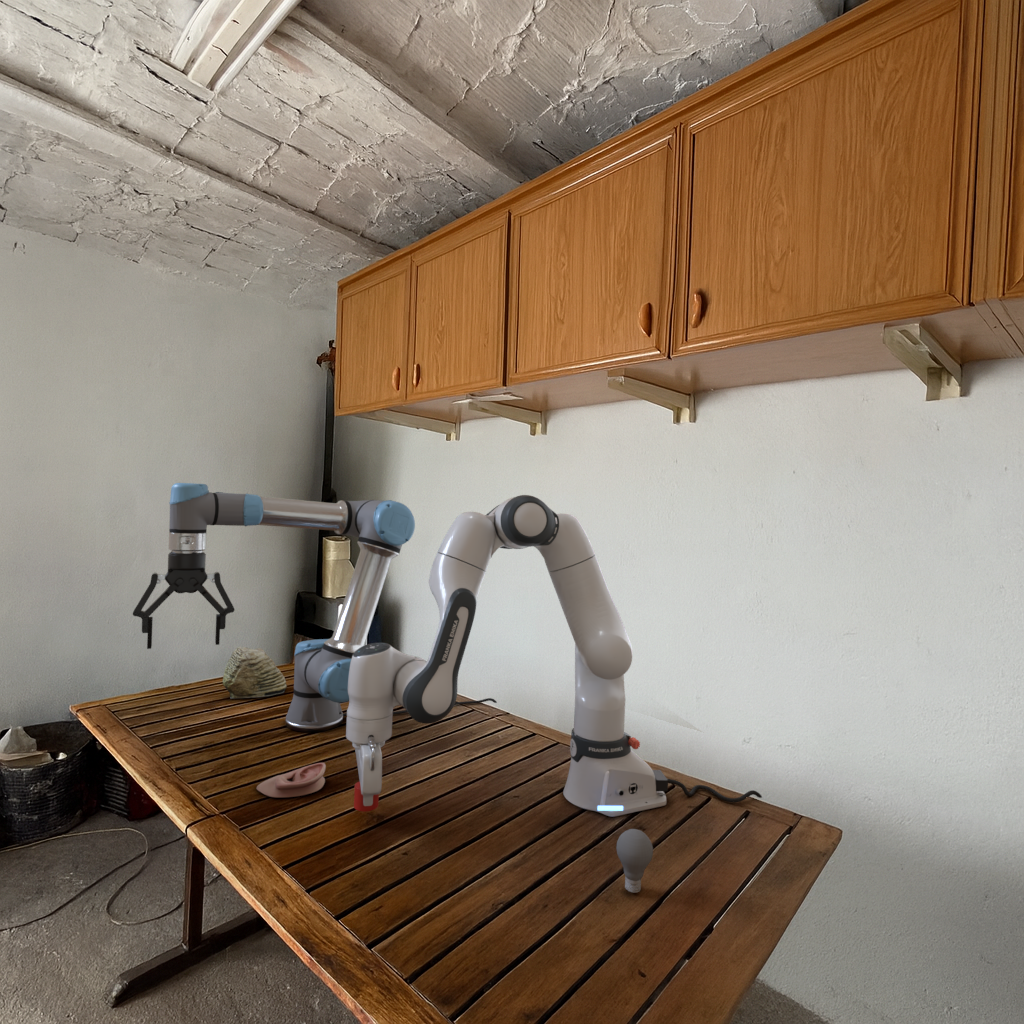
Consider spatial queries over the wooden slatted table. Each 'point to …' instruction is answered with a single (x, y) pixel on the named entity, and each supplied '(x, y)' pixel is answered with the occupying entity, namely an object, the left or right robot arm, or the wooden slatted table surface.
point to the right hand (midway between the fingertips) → (366, 796)
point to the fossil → (252, 674)
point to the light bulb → (634, 857)
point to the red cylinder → (359, 800)
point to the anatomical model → (295, 782)
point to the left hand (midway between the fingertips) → (184, 645)
